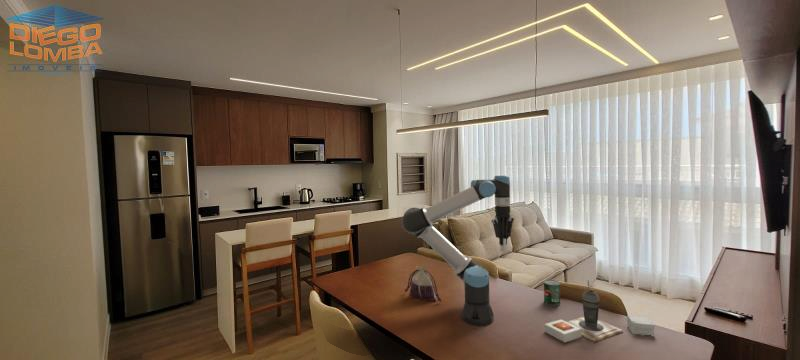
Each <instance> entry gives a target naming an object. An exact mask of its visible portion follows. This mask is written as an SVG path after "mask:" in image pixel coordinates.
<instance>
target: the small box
mask: <svg viewBox="0 0 800 360" xmlns="http://www.w3.org/2000/svg"><path fill="white" fill-rule="evenodd" d="M626 317H627V319H626V320H627V321H626V323H627V328H628V327H629V328H628V329H629V330H630V332H631V333H632V335H636V334H641V335H640V336H645V335H651V336H650V337H655V325H654V324H653V321H651V320H650V318H648V316H647V317H646V316H636V315H635V316H634V315H627V316H626Z"/></svg>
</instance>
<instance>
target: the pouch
mask: <svg viewBox="0 0 800 360" xmlns="http://www.w3.org/2000/svg"><path fill="white" fill-rule="evenodd" d="M415 267H416V269H415V270H414V271H412V273H410V276H409V278H408V281H407V282H408V283H407V287H406V288H404V293H406V292H408V291H409V293H408V296H409V297H411V296H412V297H413V298H417V299H422V300H425V301H426V300H427V301H431V302H437V301H439V303H440V302H442V299H441V297H440V296H439V292H438V288H437V283H436V281H435V279H434V276H432V274H431V273H430V272H429V271H428V270H427V269H426V267H422V266H421V265H418V266H415ZM409 289H410V290H409ZM412 297H411V298H412ZM436 298H437V299H436Z"/></svg>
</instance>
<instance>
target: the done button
mask: <svg viewBox="0 0 800 360" xmlns="http://www.w3.org/2000/svg"><path fill="white" fill-rule="evenodd" d="M556 328H558V329H560V330H562V331H567V330H570V326H569V325H568V324H566V323H556Z"/></svg>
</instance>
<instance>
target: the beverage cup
mask: <svg viewBox="0 0 800 360" xmlns="http://www.w3.org/2000/svg"><path fill="white" fill-rule="evenodd" d="M586 281H587V287H588V290H585V291H584V292H583V293H582V295H581V298H580V299H581V303H582V309H583V317H584V319H585V325H586V326H587V327H589V328H597V323H598V320H599V307H600V304H601V300H600V296H599V295H598V293H597V292H595V291H594V290H590V289H591V288H590V280H588V279H587V280H586Z"/></svg>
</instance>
